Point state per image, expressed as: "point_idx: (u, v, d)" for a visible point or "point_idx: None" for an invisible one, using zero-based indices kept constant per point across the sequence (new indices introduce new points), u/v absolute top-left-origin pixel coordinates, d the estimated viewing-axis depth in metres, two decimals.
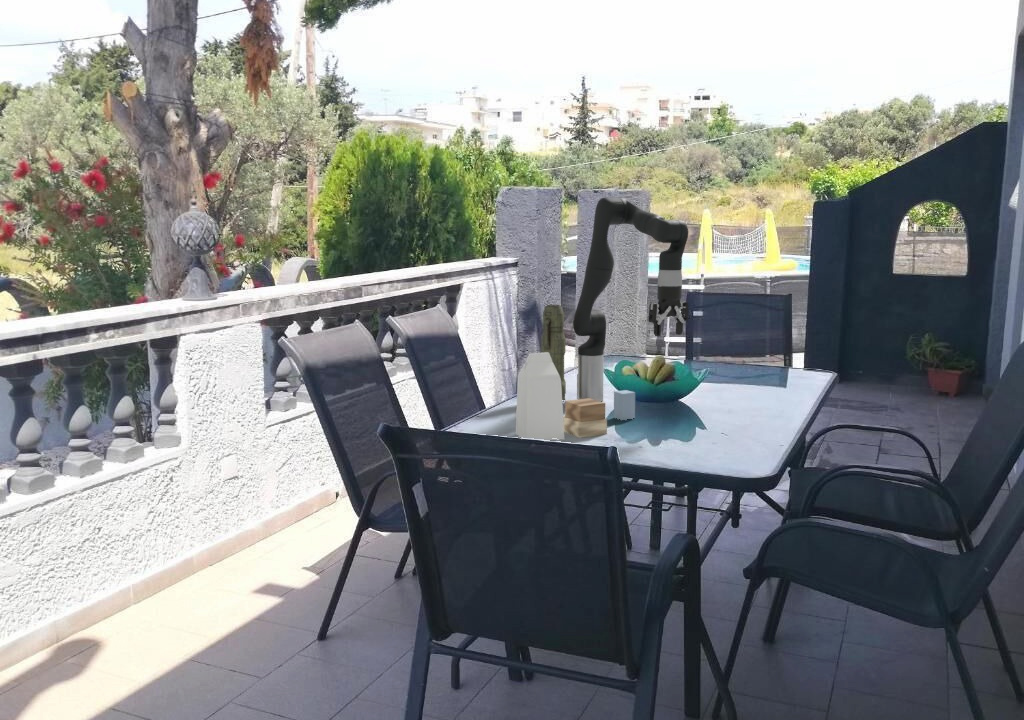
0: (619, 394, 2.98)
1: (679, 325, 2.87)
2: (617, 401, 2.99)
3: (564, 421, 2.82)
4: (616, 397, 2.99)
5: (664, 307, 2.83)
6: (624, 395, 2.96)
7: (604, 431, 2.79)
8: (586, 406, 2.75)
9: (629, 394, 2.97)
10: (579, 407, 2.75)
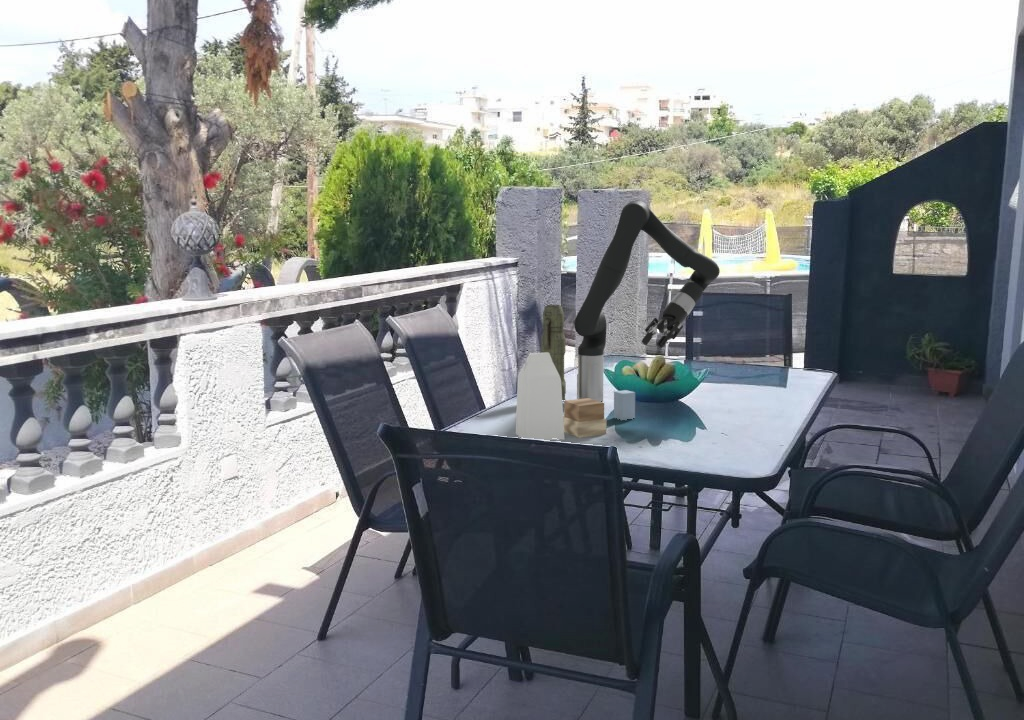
0: (619, 394, 2.98)
1: (650, 338, 3.06)
2: (617, 401, 2.99)
3: (564, 421, 2.82)
4: (616, 397, 2.99)
5: None
6: (624, 395, 2.96)
7: (603, 431, 2.79)
8: (585, 406, 2.76)
9: (629, 394, 2.97)
10: (578, 407, 2.75)
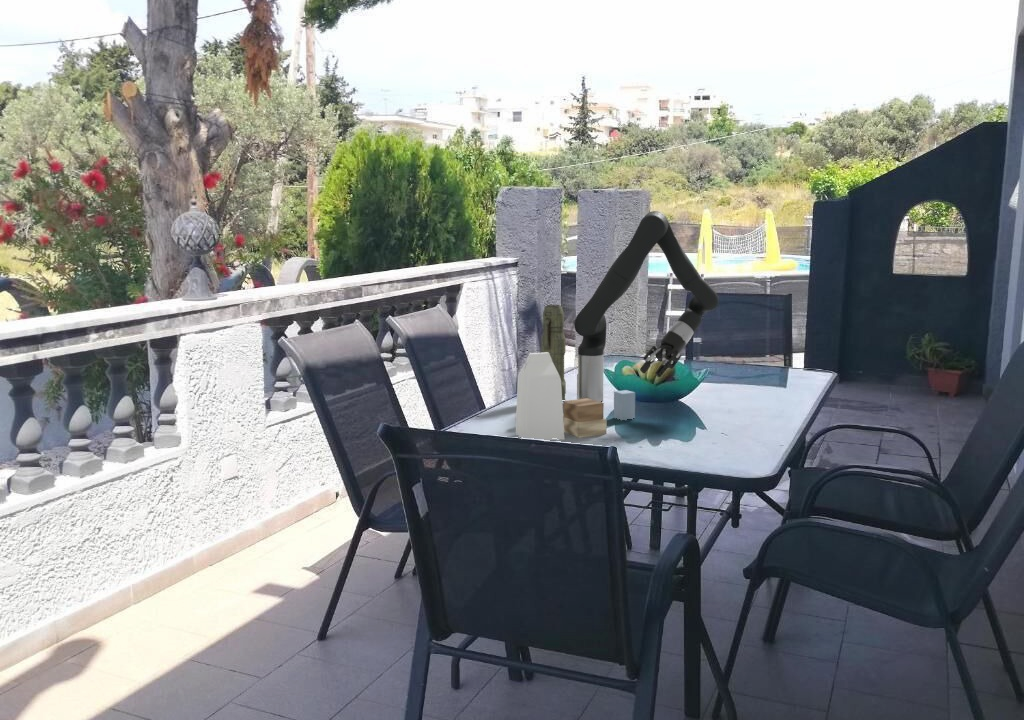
0: (619, 394, 2.98)
1: (648, 366, 3.07)
2: (617, 401, 2.99)
3: (564, 421, 2.82)
4: (616, 397, 2.99)
5: None
6: (624, 395, 2.96)
7: (603, 431, 2.79)
8: (584, 406, 2.76)
9: (629, 394, 2.97)
10: (577, 408, 2.75)
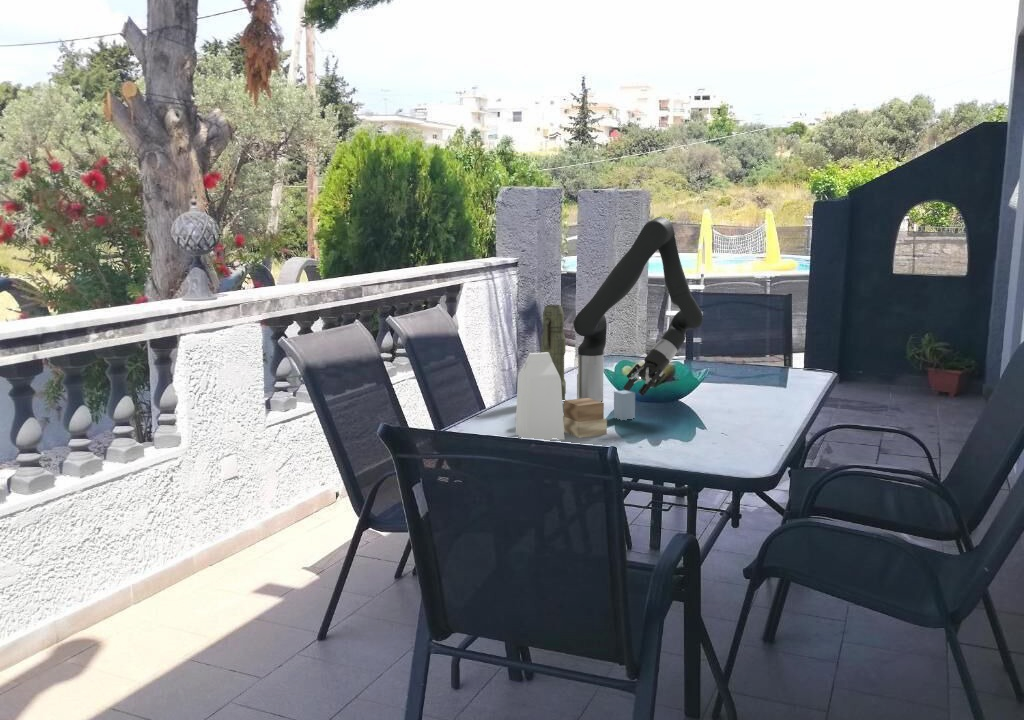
0: (619, 394, 2.98)
1: (632, 384, 3.05)
2: (617, 401, 2.99)
3: (564, 421, 2.82)
4: (616, 397, 2.99)
5: None
6: (624, 395, 2.96)
7: (604, 430, 2.79)
8: (584, 406, 2.75)
9: (629, 394, 2.97)
10: (577, 407, 2.75)
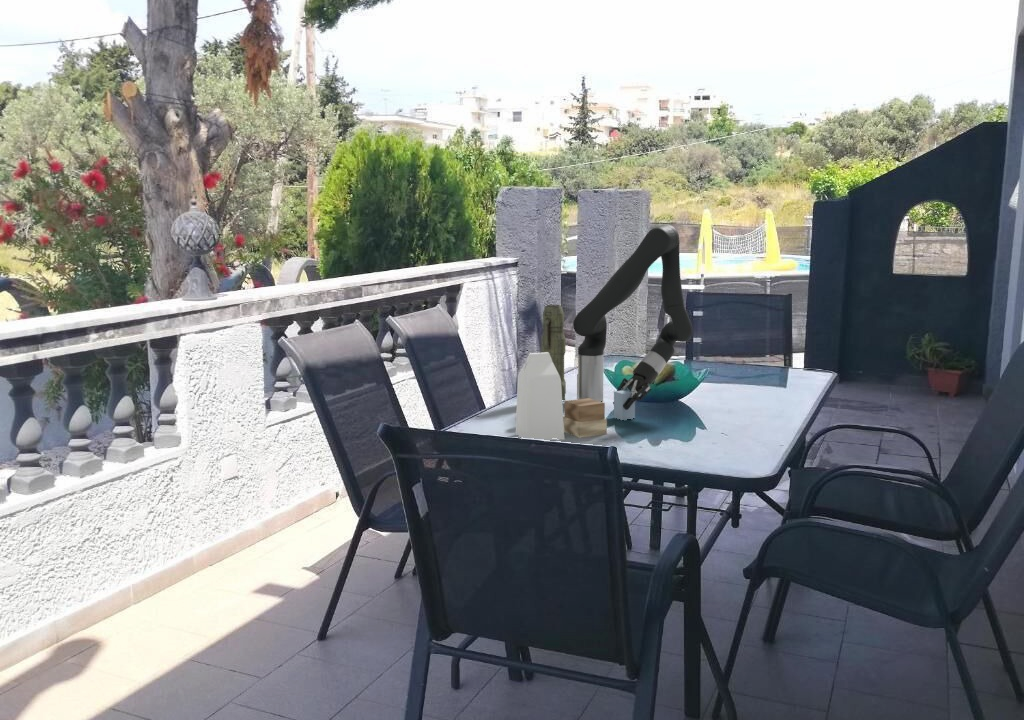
0: (619, 394, 2.98)
1: None
2: (617, 401, 2.99)
3: (564, 421, 2.82)
4: (616, 397, 2.99)
5: None
6: (624, 395, 2.96)
7: (604, 431, 2.79)
8: (586, 406, 2.75)
9: (629, 394, 2.97)
10: (578, 407, 2.75)
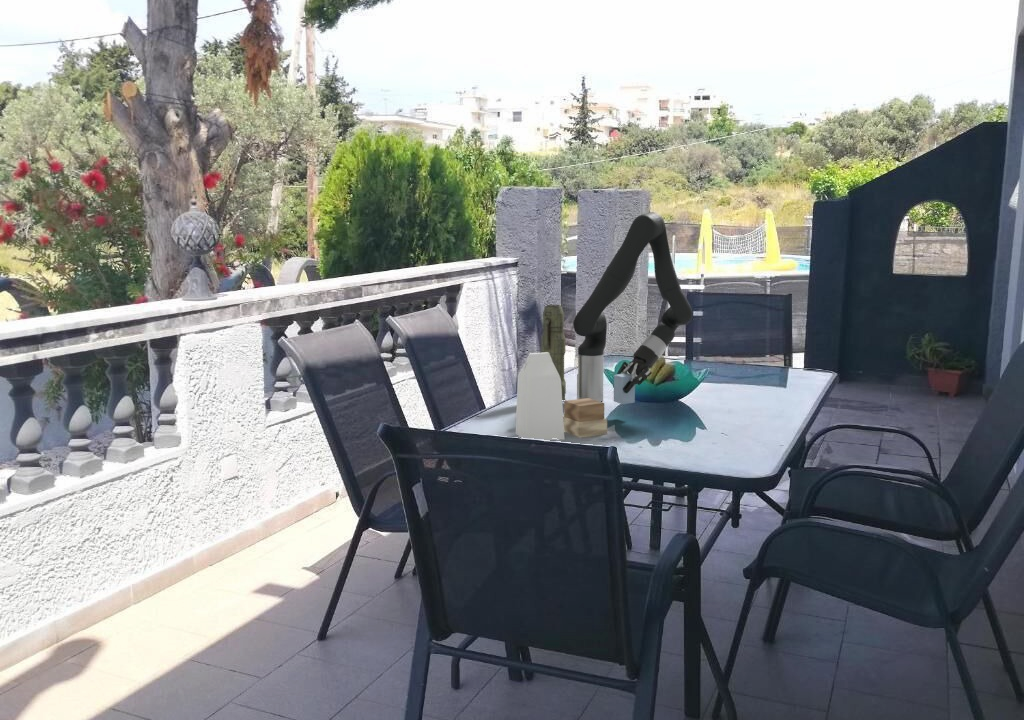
0: (619, 377, 2.97)
1: None
2: (617, 384, 2.98)
3: (564, 421, 2.82)
4: (616, 381, 2.99)
5: None
6: (624, 378, 2.96)
7: (604, 431, 2.79)
8: (585, 406, 2.75)
9: (629, 377, 2.97)
10: (578, 407, 2.75)
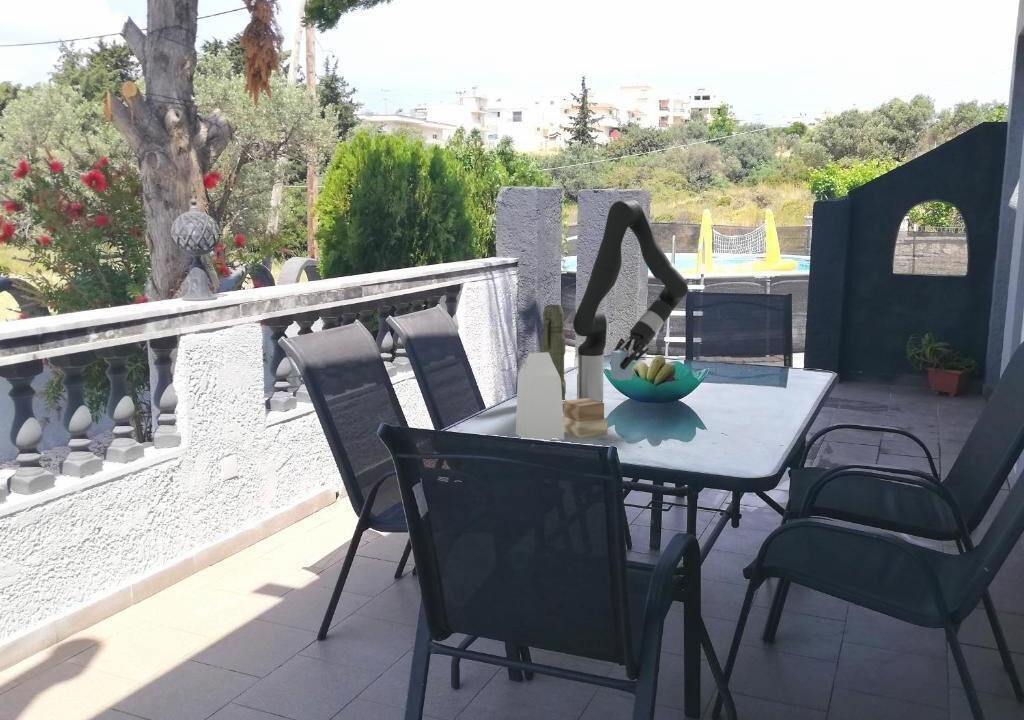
0: (616, 353, 2.93)
1: None
2: (614, 361, 2.94)
3: (564, 421, 2.82)
4: (613, 357, 2.95)
5: None
6: (621, 354, 2.92)
7: (604, 430, 2.79)
8: (585, 406, 2.75)
9: (626, 353, 2.93)
10: (578, 407, 2.75)
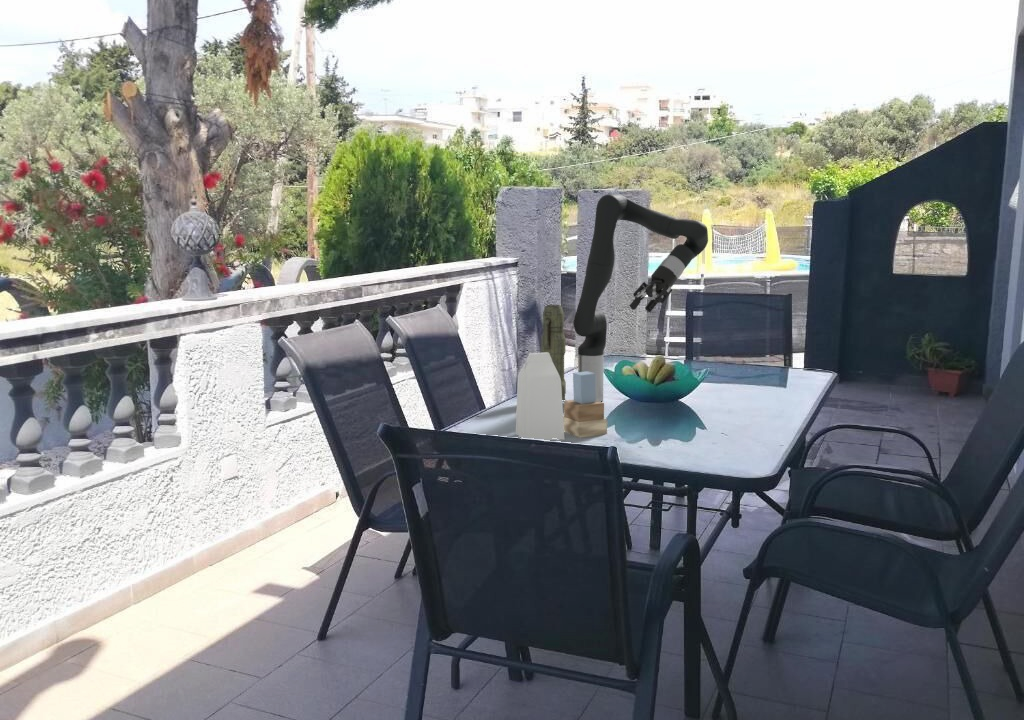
0: (578, 375, 2.77)
1: (638, 302, 2.97)
2: (576, 383, 2.78)
3: (564, 421, 2.82)
4: (575, 379, 2.79)
5: None
6: (583, 376, 2.76)
7: (604, 430, 2.79)
8: (584, 406, 2.75)
9: (588, 375, 2.77)
10: (577, 407, 2.75)
